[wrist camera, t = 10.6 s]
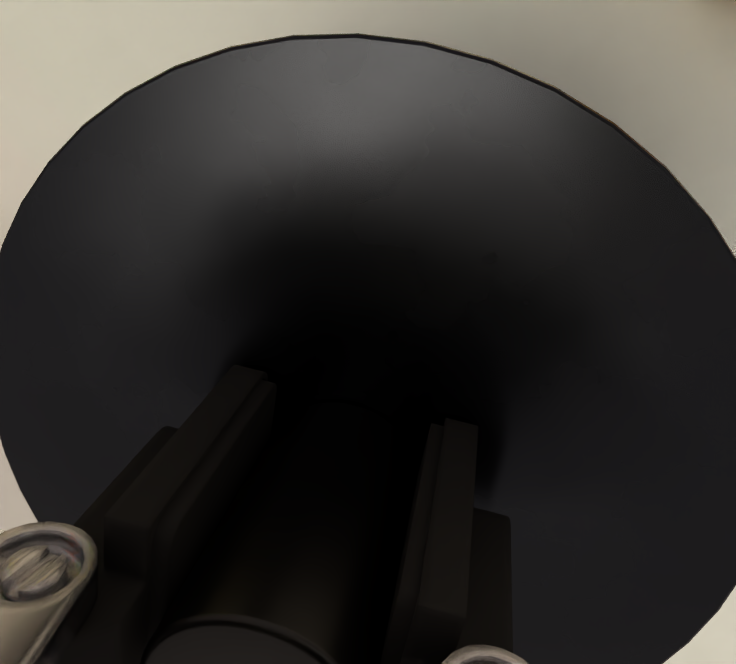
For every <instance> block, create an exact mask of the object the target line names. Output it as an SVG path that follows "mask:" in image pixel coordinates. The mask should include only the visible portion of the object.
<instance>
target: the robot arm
mask: <svg viewBox="0 0 736 664" xmlns="http://www.w3.org/2000/svg"><path fill="white" fill-rule="evenodd" d="M276 392H277V385H276V383H272V382H268V375H267V373H266V372H263V371H259V370H255V369H251V368H247V367H243V366H239V365H234V366H232V367H231V368H230V370H229V371H228V372H227V373H226V374H225V375H224V376H223V378H222V379H221V380H220V381H219V382H218V383H217V385H216V386H215V387H214V388H213V389H212V390H211V392H210V393H209V394H208V395H207V396H206V397H205V399H204V400H203V401H202V402H201V403H200V404H199V406H198V407H197V408H196V409H195V410H194V411H193V413H192V414H191V415H190V416H189V417H188V418H187V420H186V421H185V422H184V423H183V424H182V425H181V427H180V428H179V429H178V428H174V427H171V426H165V427H163V428H161V429H160V430H159V431H158V432H157V433H156V434H155V435H154V436H153V437H152V438H151V439H150V441H149V442H148V443H147V444H146V445H145V446H144V447H143V448H142V449H141V451H140V452H139V453H138V454H137V455H136V456H135V457H134V458H133V459H132V460H131V462H130V463H129V464H128V465H127V466H126V467H125V468H124V469H123V470H122V471H121V473H120V474H119V475H118V476H117V477H116V478H115V479H114V480H113V481H112V482H111V484H110V485H109V486H108V487H107V488H106V489H105V490H104V491H103V492H102V494H101V495H100V496H99V497H98V498H97V499H96V500H95V501H94V502H93V503H92V505H91V506H90V507H89V508H88V509H87V510H86V511H85V512H84V513H83V514H82V516H81V517H80V518H79V519H78V520H77V521H76V522H75V523H74V524H73V526H72V525H70V524H67V523H60V522H50V521H46V522H36V523H28V524H25V525H21V526H18V527H14V528H11V529H8V530H6V531H5V532H3V533H1V534H0V664H141V658H142V655H143V652H144V649H145V647H146V646H147V644H148V642H149V640H150V639H151V637H152V635H153V634H154V632H155V630H156V629H157V627H158V625H159V624H160V622H161V620H162V619H163V617H164V615H165V614H166V612H167V610H168V609H169V607H170V605H171V604H172V602H173V600H174V599H175V597H176V595H177V594H178V592H179V590H180V589H181V587H182V585H183V584H184V582H185V580H186V579H187V577H188V575H189V574H190V572H191V570H192V569H193V567H194V565H195V564H196V562H197V560H198V559H199V557H200V555H201V554H202V552H203V550H204V549H205V547H206V545H207V544H208V542H209V540H210V539H211V537H212V535H213V534H214V532H215V530H216V529H217V527H218V525H219V524H220V522H221V520H222V519H223V517H224V515H225V514H226V512H227V510H228V509H229V507H230V505H231V503H232V502H233V500H234V498H235V497H236V495H237V493H238V492H239V490H240V488H241V487H242V485H243V483H244V482H245V480H246V478H247V477H248V475H249V473H250V472H251V470H252V468H253V467H254V465H255V463H256V462H257V460H258V458H259V457H260V455H261V453H262V452H263V450H264V448H265V447H266V445H267V443H268V442H269V440H270V438H271V430H272V423H273V415H274V408H275V400H276ZM477 442H478V426H477V425H473V424H469V423H465V422H461V421H457V420H453V419H449V418H446V419H445V422H444V425H443V426H441V425H437V424H433V423H431V426H430V429H429V433H428V437H427V441H426V445H425V449H424V453H423V457H422V460H421V464H420V468H419V472H418V476H417V481H416V486H415V491H414V496H413V501H412V506H411V511H410V516H409V521H408V526H407V531H406V536H405V541H404V546H403V551H402V556H401V561H400V566H399V571H398V576H397V581H396V586H395V591H394V596H393V601H392V606H391V611H390V616H389V621H388V626H387V631H386V636H385V641H384V646H383V651H382V656H381V661H380V664H529V663H527V662H526V661H525V660H524V659H522V658H521V657H519V656H517V655H515V654H513V625H512V567H511V523H510V518H509V516H505V515H502V514H498V513H494V512H490V511H487V510H483V509H479V508H475V507H473V504H474V489H475V473H476V457H477Z"/></svg>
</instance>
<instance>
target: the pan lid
mask: <svg viewBox="0 0 736 664" xmlns="http://www.w3.org/2000/svg"><path fill="white" fill-rule="evenodd" d="M234 365H239V366H243V367H247V368H251V369H255V370H259V371H263V372H266V373H267V375H268V382H272V383H276V385H277V392H276V400H275V408H274V415H273V423H272V430H271V438H270V440H269V442H268V443H267V445H266V447H265V448H264V450H263V452H262V453H261V455H260V457H259V458H258V460H257V462H256V463H255V465H254V467H253V468H252V470H251V472H250V473H249V475H248V477H247V478H246V480H245V482H244V483H243V485H242V487H241V488H240V490H239V492H238V493H237V495H236V497H235V498H234V500H233V502H232V503H231V505H230V507H229V509H228V510H227V512H226V514H225V515H224V517H223V519H222V520H221V522H220V524H219V525H218V527H217V529H216V530H215V532H214V534H213V535H212V537H211V539H210V540H209V542H208V544H207V545H206V547H205V549H204V550H203V552H202V554H201V555H200V557H199V559H198V560H197V562H196V564H195V565H194V567H193V569H192V570H191V572H190V574H189V575H188V577H187V579H186V580H185V582H184V584H183V585H182V587H181V589H180V590H179V592H178V594H177V595H176V597H175V599H174V600H173V602H172V604H171V605H170V607H169V609H168V610H167V612H166V614H165V615H164V617H163V619H162V620H161V622H160V624H159V625H158V627H157V629H156V630H155V632H154V634H153V635H152V637H151V639H150V640H149V642H148V644H147V646H146V647H145V649H144V652H143V655H142V658H141V664H380V661H381V656H382V651H383V646H384V641H385V636H386V631H387V626H388V621H389V616H390V611H391V606H392V601H393V596H394V591H395V586H396V581H397V576H398V571H399V566H400V561H401V556H402V551H403V546H404V541H405V536H406V531H407V526H408V521H409V516H410V511H411V506H412V501H413V496H414V491H415V486H416V481H417V476H418V472H419V468H420V464H421V460H422V457H423V453H424V449H425V445H426V441H427V437H428V433H429V429H430V426H431V423H433V424H437V425H441V426H443V425H444V422H445V419H446V418H449V419H453V420H457V421H461V422H465V423H469V424H473V425H477V426H478V442H477V457H476V473H475V489H474V504H473V507H475V508H479V509H483V510H487V511H490V512H494V513H498V514H502V515H505V516H509V518H510V523H511V567H512V625H513V654H515V655H517V656H519V657H521V658H522V659H524V660H525V661H526V662H527V663H529V664H663V663H664V662H665V661H667V660H668V659H669V658H670V657H672V656H673V655H674V654H675V653H676V652H678V651H679V650H680V649H681V648H683V647H684V646H685V645H686V644H688V643H689V642H690V641H691V640H692V638H693V637H694V636H695V635H696V634H697V633H698V632H699V631H700V630H701V629H702V628H703V627H704V626H705V624H706V623H707V622H708V621H709V620H710V619H711V618H712V617H713V616H714V615H715V614H716V613H717V612H718V611H719V609H720V608H721V606H722V605H723V603H724V602H725V600H726V599H727V597H728V596H729V595H730V593H731V592H732V590H733V589H734V587H735V586H736V257H735V256H734V254H733V252H732V251H731V249H730V248H729V246H728V245H727V243H726V241H725V240H724V238H723V237H722V235H721V233H720V232H719V230H718V229H717V227H716V226H715V224H714V222H713V221H712V219H711V218H710V216H709V215H708V214H707V213H706V212H705V210H704V209H703V208H702V207H701V206H700V205H699V204H698V202H697V201H696V200H695V199H694V198H693V197H692V196H691V194H690V193H689V192H688V191H687V190H686V189H685V188H684V186H683V185H682V184H681V183H680V182H679V181H678V180H677V178H676V177H675V176H674V175H673V174H672V173H671V172H670V170H669V169H668V168H667V167H666V166H665V165H663V164H662V163H661V162H660V161H659V160H658V159H656V158H655V157H654V156H653V155H652V154H650V153H649V152H648V151H647V150H646V149H645V148H643V147H642V146H641V145H640V144H639V143H637V142H636V141H635V140H634V139H633V138H631V137H630V136H629V135H628V134H627V133H626V132H624V131H623V130H622V129H621V128H620V127H618V126H617V125H616V124H615V123H613V122H612V121H610V120H608V119H607V118H605V117H604V116H602V115H600V114H599V113H597V112H595V111H594V110H592V109H591V108H589V107H587V106H586V105H584V104H583V103H581V102H579V101H578V100H576V99H574V98H573V97H571V96H570V95H568V94H566V93H565V92H563V91H562V90H560V89H558V88H557V87H555V86H553V85H551V84H549V83H546V82H544V81H542V80H539V79H537V78H535V77H532V76H530V75H528V74H525V73H523V72H521V71H519V70H516V69H514V68H512V67H509V66H507V65H505V64H502V63H500V62H498V61H495V60H493V59H490V58H486V57H482V56H479V55H475V54H471V53H468V52H464V51H460V50H456V49H453V48H449V47H445V46H442V45H438V44H434V43H431V42H425V41H417V40H409V39H400V38H392V37H384V36H375V35H367V34H359V33H356V34H320V35H291V36H286V37H280V38H275V39H269V40H264V41H258V42H253V43H247V44H241V45H236V46H231V47H228V48H225V49H222V50H219V51H216V52H213V53H210V54H208V55H205V56H202V57H199V58H196V59H193V60H190V61H187V62H184V63H182V64H179V65H176V66H174V67H172V68H170V69H168V70H166V71H164V72H162V73H161V74H159V75H157V76H155V77H153V78H151V79H149V80H147V81H146V82H144V83H142V84H140V85H138V86H136V87H134V88H133V89H131V90H129V91H127V92H125V93H124V94H123V95H121V96H120V97H119V98H117V99H116V100H115V101H113V102H112V103H111V104H110V105H108V106H107V107H106V108H104V109H103V110H102V111H100V112H99V113H98V114H96V115H95V116H94V117H93V118H91V119H90V120H89V121H87V122H86V123H85V124H83V125H82V127H81V128H80V129H79V130H78V131H77V132H76V133H75V134H74V135H73V136H72V137H71V138H70V139H69V140H68V141H67V143H66V144H65V145H64V146H63V147H62V148H61V149H60V150H59V151H58V152H57V153H56V154H55V155H54V156H53V158H52V159H51V160H50V161H49V162H48V163H47V165H46V166H45V168H44V169H43V171H42V172H41V174H40V175H39V177H38V178H37V180H36V181H35V183H34V184H33V186H32V187H31V189H30V190H29V192H28V193H27V195H26V196H25V198H24V199H23V201H22V202H21V205H20V207H19V209H18V211H17V213H16V216H15V218H14V220H13V222H12V224H11V227H10V229H9V231H8V233H7V235H6V238H5V240H4V242H3V244H2V248H1V252H0V439H1V443H2V446H3V450H4V453H5V455H6V458H7V460H8V463H9V465H10V467H11V470H12V472H13V474H14V477H15V479H16V482H17V484H18V486H19V489H20V491H21V493H22V495H23V496H24V498H25V500H26V502H27V504H28V505H29V507H30V509H31V511H32V513H33V514H34V516H35V518H36V520H37V522H46V521H50V522H60V523H67V524H70V525H72V526H73V524H74V523H75V522H76V521H77V520H78V519H79V518H80V517H81V516H82V514H83V513H84V512H85V511H86V510H87V509H88V508H89V507H90V506H91V505H92V503H93V502H94V501H95V500H96V499H97V498H98V497H99V496H100V495H101V494H102V492H103V491H104V490H105V489H106V488H107V487H108V486H109V485H110V484H111V482H112V481H113V480H114V479H115V478H116V477H117V476H118V475H119V474H120V473H121V471H122V470H123V469H124V468H125V467H126V466H127V465H128V464H129V463H130V462H131V460H132V459H133V458H134V457H135V456H136V455H137V454H138V453H139V452H140V451H141V449H142V448H143V447H144V446H145V445H146V444H147V443H148V442H149V441H150V439H151V438H152V437H153V436H154V435H155V434H156V433H157V432H158V431H159V430H160V429H161V428H163V427H165V426H171V427H174V428H178V429H179V428H180V427H181V425H182V424H183V423H184V422H185V421H186V420H187V418H188V417H189V416H190V415H191V414H192V413H193V411H194V410H195V409H196V408H197V407H198V406H199V404H200V403H201V402H202V401H203V400H204V399H205V397H206V396H207V395H208V394H209V393H210V392H211V390H212V389H213V388H214V387H215V386H216V385H217V383H218V382H219V381H220V380H221V379H222V378H223V376H224V375H225V374H226V373H227V372H228V371H229V370H230V368H231V367H232V366H234Z"/></svg>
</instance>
